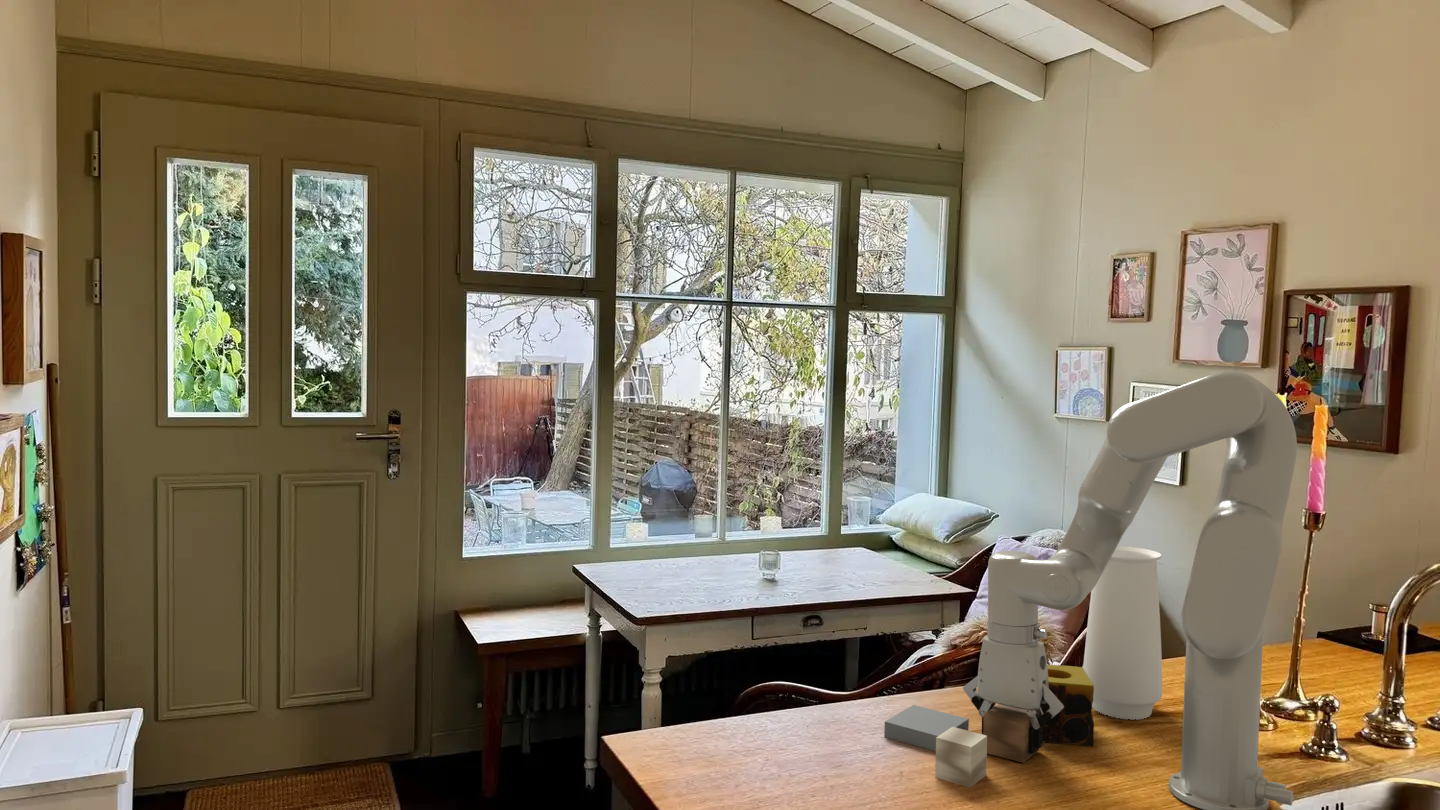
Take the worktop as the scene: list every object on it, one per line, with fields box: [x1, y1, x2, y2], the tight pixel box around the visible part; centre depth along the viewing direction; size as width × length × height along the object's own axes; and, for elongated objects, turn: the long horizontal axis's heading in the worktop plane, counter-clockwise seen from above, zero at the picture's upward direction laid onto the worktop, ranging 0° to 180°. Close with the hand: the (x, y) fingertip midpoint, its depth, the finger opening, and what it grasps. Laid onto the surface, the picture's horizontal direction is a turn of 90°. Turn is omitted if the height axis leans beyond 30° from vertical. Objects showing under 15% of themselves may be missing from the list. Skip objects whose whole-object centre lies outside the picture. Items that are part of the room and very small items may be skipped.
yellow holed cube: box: [1040, 664, 1095, 747], centre depth 161 cm, size 10×10×10 cm
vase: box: [1082, 545, 1163, 721], centre depth 172 cm, size 13×13×28 cm
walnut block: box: [982, 704, 1041, 764], centre depth 153 cm, size 6×6×6 cm
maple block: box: [934, 727, 988, 788], centre depth 144 cm, size 6×6×6 cm
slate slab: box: [883, 704, 970, 752], centre depth 159 cm, size 10×10×2 cm
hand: (1011, 744), depth 153 cm, fingers closed on walnut block, 6 cm apart
